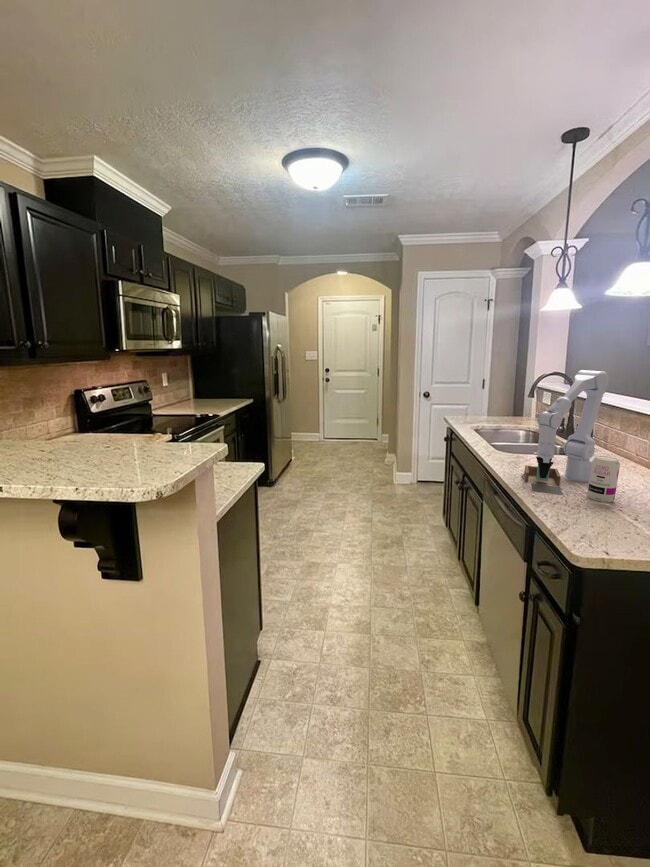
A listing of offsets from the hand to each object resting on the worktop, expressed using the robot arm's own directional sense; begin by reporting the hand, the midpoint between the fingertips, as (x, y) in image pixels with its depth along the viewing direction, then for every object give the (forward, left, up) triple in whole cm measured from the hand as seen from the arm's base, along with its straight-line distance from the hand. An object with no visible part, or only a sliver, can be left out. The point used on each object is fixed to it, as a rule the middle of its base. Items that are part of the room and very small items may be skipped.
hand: (542, 476), depth 169 cm
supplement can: (-18, +11, -3) cm, 21 cm away
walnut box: (0, -5, -3) cm, 6 cm away
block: (0, 0, -1) cm, 1 cm away
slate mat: (-1, +8, -3) cm, 9 cm away
